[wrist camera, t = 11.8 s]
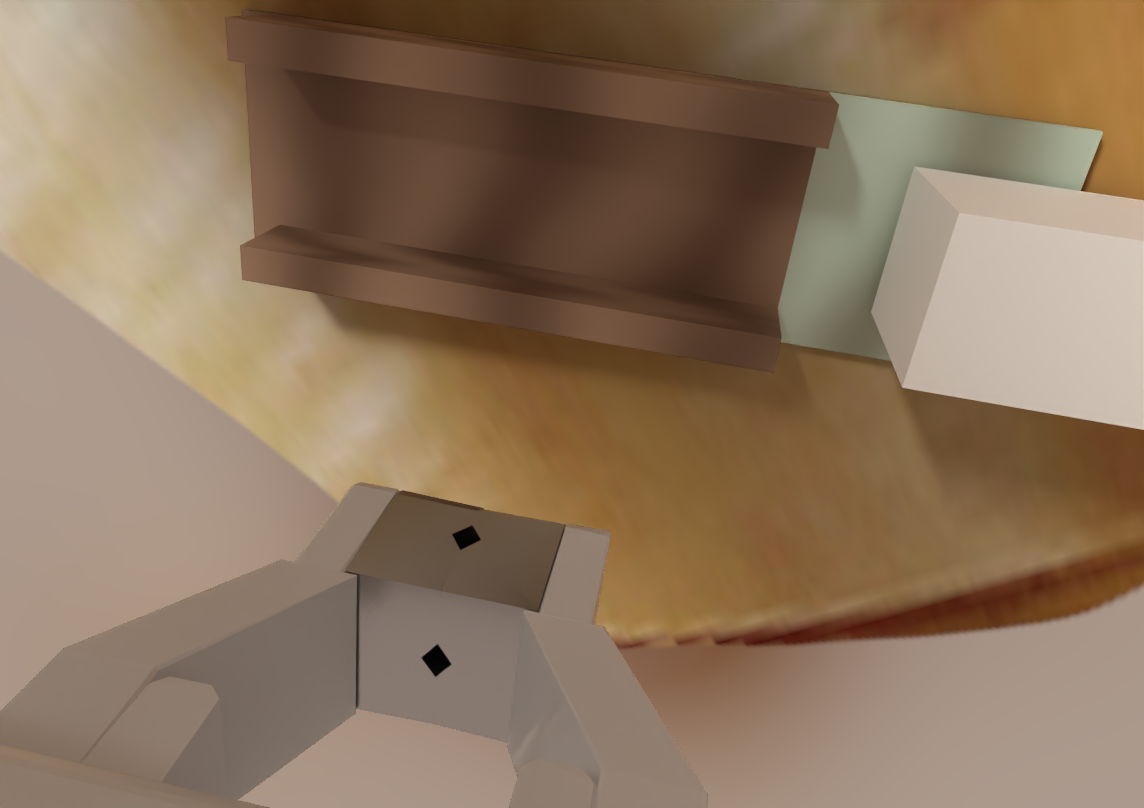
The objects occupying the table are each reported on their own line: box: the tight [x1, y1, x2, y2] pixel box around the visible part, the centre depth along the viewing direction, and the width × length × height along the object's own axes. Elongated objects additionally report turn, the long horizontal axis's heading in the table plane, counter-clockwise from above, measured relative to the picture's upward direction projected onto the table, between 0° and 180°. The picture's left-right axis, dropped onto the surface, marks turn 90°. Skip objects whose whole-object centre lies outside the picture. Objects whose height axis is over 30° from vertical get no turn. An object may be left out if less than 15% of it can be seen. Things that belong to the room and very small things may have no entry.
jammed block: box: [871, 166, 1144, 430], centre depth 24 cm, size 7×5×6 cm
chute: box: [225, 10, 1103, 373], centre depth 27 cm, size 27×8×3 cm, turn 83°
